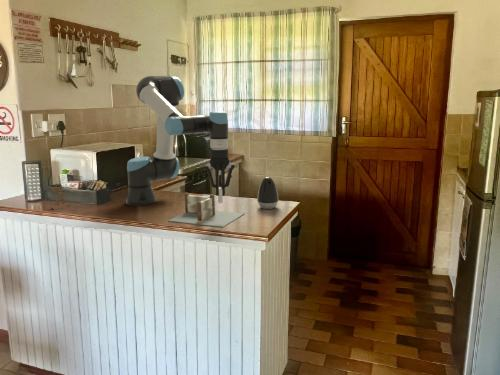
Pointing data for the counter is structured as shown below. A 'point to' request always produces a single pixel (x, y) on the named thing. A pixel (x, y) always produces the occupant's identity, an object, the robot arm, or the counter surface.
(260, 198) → the egg-shaped speaker
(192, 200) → the fixed fence section
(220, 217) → the board
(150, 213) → the counter surface
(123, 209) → the counter surface
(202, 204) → the folding fence panel
